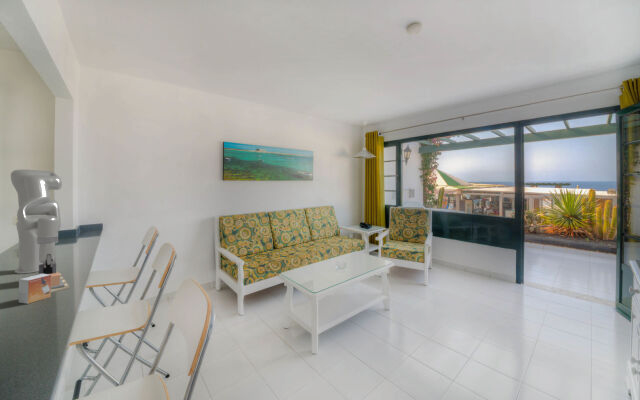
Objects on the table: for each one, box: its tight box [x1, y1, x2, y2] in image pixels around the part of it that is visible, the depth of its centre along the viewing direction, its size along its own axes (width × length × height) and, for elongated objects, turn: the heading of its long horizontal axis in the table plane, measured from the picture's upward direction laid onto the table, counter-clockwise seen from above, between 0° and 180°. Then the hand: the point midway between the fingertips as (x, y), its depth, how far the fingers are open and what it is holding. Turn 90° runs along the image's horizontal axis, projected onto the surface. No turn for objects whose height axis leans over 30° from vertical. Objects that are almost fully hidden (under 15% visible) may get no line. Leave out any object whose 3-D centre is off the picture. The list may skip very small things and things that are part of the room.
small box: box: [18, 273, 52, 305], centre depth 110 cm, size 8×6×10 cm
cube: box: [49, 273, 60, 286], centre depth 121 cm, size 5×5×5 cm
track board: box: [29, 271, 70, 293], centre depth 128 cm, size 33×11×1 cm, turn 53°
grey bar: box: [38, 262, 65, 289], centre depth 125 cm, size 22×8×8 cm, turn 53°
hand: (47, 273), depth 131 cm, fingers closed on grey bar, 2 cm apart
